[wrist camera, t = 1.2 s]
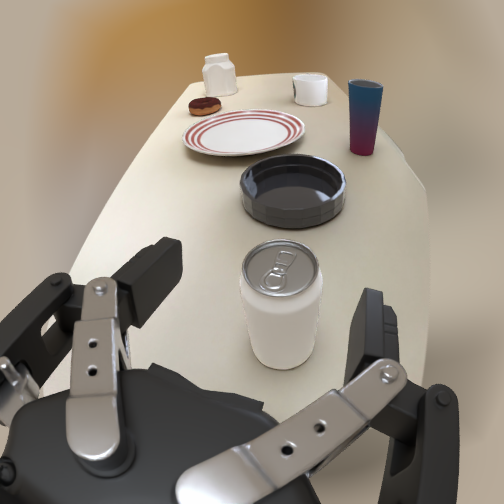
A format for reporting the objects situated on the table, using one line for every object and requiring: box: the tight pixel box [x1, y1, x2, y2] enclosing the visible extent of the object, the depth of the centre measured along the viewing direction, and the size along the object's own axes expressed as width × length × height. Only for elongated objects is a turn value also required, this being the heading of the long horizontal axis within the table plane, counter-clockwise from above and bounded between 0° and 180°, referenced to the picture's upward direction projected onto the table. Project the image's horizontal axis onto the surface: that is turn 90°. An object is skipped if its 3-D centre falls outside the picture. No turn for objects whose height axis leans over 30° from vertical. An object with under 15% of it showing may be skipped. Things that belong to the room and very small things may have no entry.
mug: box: [292, 73, 328, 106], centre depth 82 cm, size 13×10×8 cm
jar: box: [202, 53, 238, 97], centre depth 94 cm, size 12×10×15 cm
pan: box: [240, 154, 346, 228], centre depth 47 cm, size 16×16×4 cm
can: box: [239, 239, 323, 369], centre depth 27 cm, size 6×6×12 cm
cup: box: [348, 79, 383, 156], centre depth 54 cm, size 7×7×15 cm
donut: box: [189, 97, 221, 116], centre depth 84 cm, size 10×10×4 cm
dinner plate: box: [182, 109, 305, 156], centre depth 66 cm, size 28×27×3 cm
